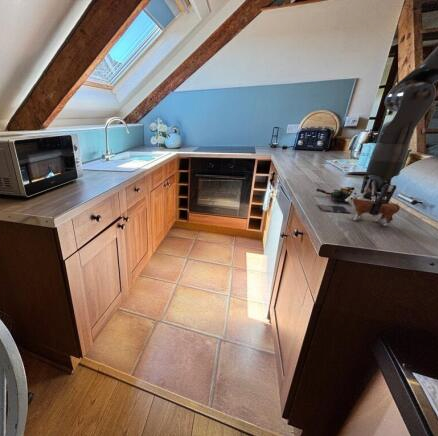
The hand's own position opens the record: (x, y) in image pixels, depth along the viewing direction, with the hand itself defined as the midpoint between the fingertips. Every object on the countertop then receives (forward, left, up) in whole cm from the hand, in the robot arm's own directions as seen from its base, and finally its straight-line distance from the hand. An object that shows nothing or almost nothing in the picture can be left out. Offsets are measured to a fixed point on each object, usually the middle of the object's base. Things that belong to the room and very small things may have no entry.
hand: (368, 211), depth 79 cm
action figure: (-2, -24, -4) cm, 24 cm away
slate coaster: (+6, -10, -4) cm, 12 cm away
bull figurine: (0, 0, -4) cm, 4 cm away
